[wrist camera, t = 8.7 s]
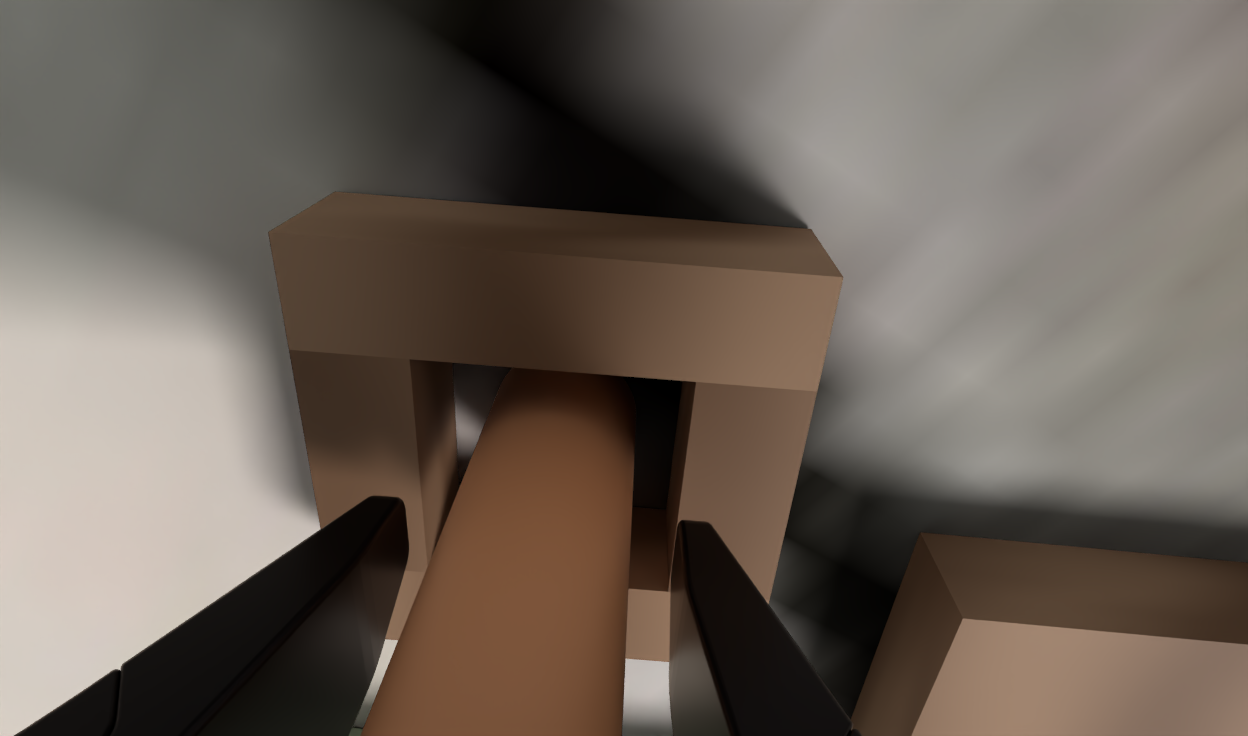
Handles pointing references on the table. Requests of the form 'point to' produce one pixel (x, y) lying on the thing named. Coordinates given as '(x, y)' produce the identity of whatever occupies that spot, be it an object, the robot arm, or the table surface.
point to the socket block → (555, 358)
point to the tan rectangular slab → (1059, 644)
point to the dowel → (526, 574)
